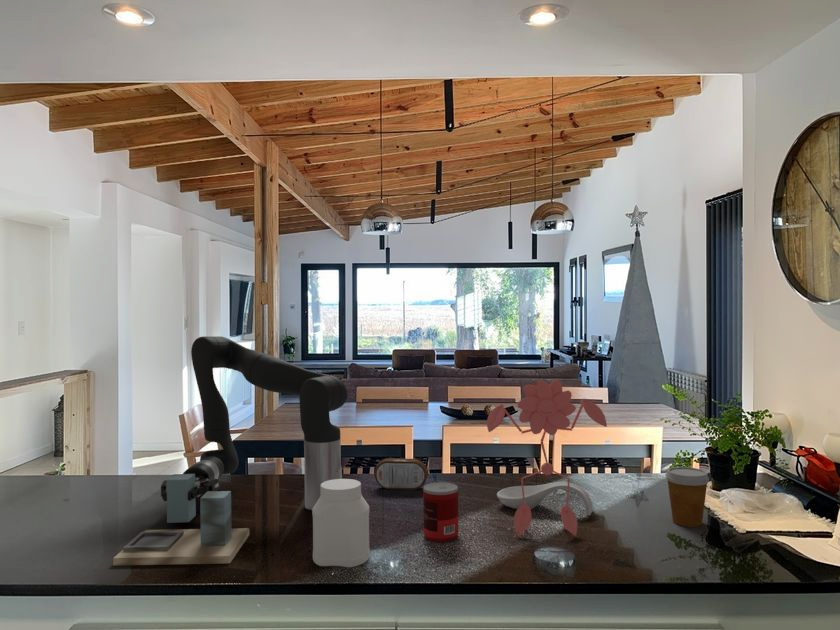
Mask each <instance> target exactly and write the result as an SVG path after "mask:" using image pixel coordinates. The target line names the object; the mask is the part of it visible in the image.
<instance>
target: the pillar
mask: <svg viewBox="0 0 840 630" xmlns="http://www.w3.org/2000/svg"><path fill="white" fill-rule="evenodd" d="M165 480H166V493H167V501H166V523H168V524H169V523H174V524H175V523H177V524H178V523H190V522H191V521H192V520H193V519H194V518H195V517H196V516H197V513H196V512H197V507H196V498H194V499H193V500H192V501H188V491H189V490H191V489H192V488H193V487H195V474H183V473H177V474H176V473H175V474H172V475H171V476H170V477H168V478H166V479H165Z"/></svg>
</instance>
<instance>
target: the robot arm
mask: <svg viewBox="0 0 840 630" xmlns="http://www.w3.org/2000/svg"><path fill="white" fill-rule="evenodd" d="M191 345H192V346H191V353H190V354H191V355H190V356H191V361H192V362H191V363H192V367H193V372H194V376H195V381H196V384H197V389H198V394H199V397H200V402H201V407H202V408H201V409H202V417H203V433H204V436H203V437H204V439H205V441H206V442H210V443H217V444H219V445H220V446H221V447H222V449H211V450H207V451H204V452H202V454H201V455H200V458H199V461H197V462H195V463H194V464H192V465H191V466H190V467H188V468H187V469H186V470H184V471H183V473H182V474H195V487H193V488H192V489H191V490H189V491H188V501H192V500H193V499H194V498H195V499H196V498H199V497H202V496H203V495H204V494H205V493H206V492H208V491H220V490H219V489H220V488H219V487H220V485H219V484H220V482H219V480H220V478H221V477H222V476H223V475H230V474H233V473H235V472H236V471H237V469H238V467H239V462H240V461H239V456H238V453H237V450H236V448H235V445H234V442H233V439H232V435H231V429H230V428H231V427H230V416H229V415H230V414H229V409H228V406H227V403H226V402H225V400H224V398H223V396H222V395H221V393H220V391H219V389H218V387H217V384H216V383H215V378H214V377H215V376H214V369H220V368H221V369H229V370H233V371H236V372H239V373H240V374H242V376H243V378H244V379H245V380H246V381H247V382H248V383H250V384H251V385H252V386H255V387H258V388H260V389H263V390H265V391H267V392H272V393H277V394H279V393H280V394H285V395H295V396H299V400H298V401H299V416H300V426H301V430H302V433H303V439H304V440H303V448H304V449H303V451H304V452H303V454H304V455H303V456H304V457H303V459H304V460H303V461H304V464H303V465H304V508H305V509H306V510H308V511H312V509H313V507H314V506H315V504H316V502H317V501H318V499H319V498H320V495H321V494H320V492H321V491H320V489H321V488H320V485H321V484H322V483H323V482H325V481H329V480H334V479H343V474H342V473H343V471H342V470H343V467H342V463H341V459H342V458H341V456H342V455H341V453H342V452H341V449H342V448H341V445H342V444H341V428H340V427H339V426H337V425H335V424H332V422H331V420H330V412H333V411H337V410H338V409H340V408H341V407H343V406H344V405H345V403H346V402H347V401H348V389H347V387H346V385H345V383H344V382H343V381H342V380H341V379H339V378H338V377H337V376H334V375H329V374H326V373H320V372H318V371H317V372H316V371H312V370H309V369H306V368H303V367H301V366H299V365H297V364H294V363H291V362H289V361H285V360H284V359H282V358H279V357H276V356H274V355H271V354H268V353H264V352H261V351H258V350H255V349H250V348H247V347H246V346H243V345H241V344H240V343H238V342H236V341H234V340H232V339H230V338H228V337H225V336H220V335H219V336H210V335H209V336H199V337H197V338H195V340H194V341H193V343H192V344H191ZM166 480H167V479H165V480H163V481H162V483H161V485H160V498H161V497H162V499H161V500H163V502H167V493H166Z"/></svg>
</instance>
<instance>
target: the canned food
mask: <svg viewBox="0 0 840 630" xmlns="http://www.w3.org/2000/svg"><path fill="white" fill-rule="evenodd" d="M422 492H423V494H422V497H423V498H422V500H423V503H422V504H423V505H422V506H423V510H422V512H423V535H424V537H425V539H426V540H427V541H430V542H434V543H448V542H451V541H454V540H455V539H457V538H458V534H459V486H458V485H457V484H454V483H452V482H444V481H443V482H441V481H440V482H431V483H427V484H424V485H423V491H422Z"/></svg>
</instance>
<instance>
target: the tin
mask: <svg viewBox="0 0 840 630" xmlns="http://www.w3.org/2000/svg"><path fill="white" fill-rule="evenodd" d="M428 476H429V469H428V468H427V466H426V464H425V463H424V462H423V461H422V460H420V459H417V458H399V457H397V458H396V457H387V458H383V459H381V460H380V461H379V462H378V463H377V465H376V466H375V469H374V478H375V481H376V483H377V485H379V486H380V487H381V488H383V489H387V490H409V491H410V490H413V491H414V490H415V491H416V490H419V489H420V488H422V487H424V486H425V485H426V482H427V480H428Z"/></svg>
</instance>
